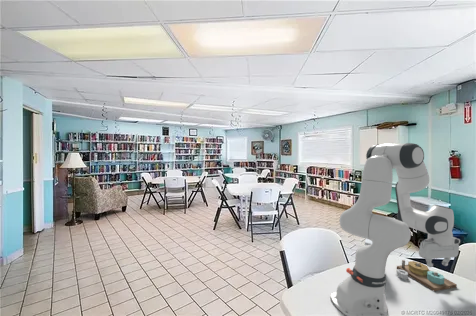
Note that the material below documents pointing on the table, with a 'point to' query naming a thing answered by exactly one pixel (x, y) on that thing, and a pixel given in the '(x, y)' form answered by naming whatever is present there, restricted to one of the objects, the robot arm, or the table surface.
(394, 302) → the table surface
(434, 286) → the gear board
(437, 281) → the teal gear
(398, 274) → the grey gear
